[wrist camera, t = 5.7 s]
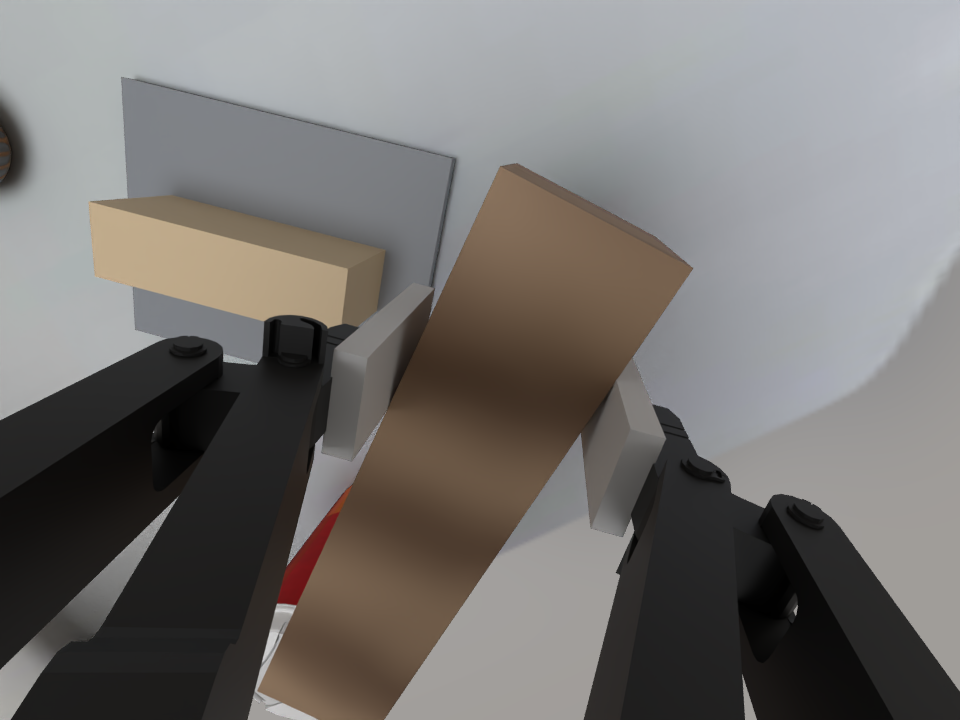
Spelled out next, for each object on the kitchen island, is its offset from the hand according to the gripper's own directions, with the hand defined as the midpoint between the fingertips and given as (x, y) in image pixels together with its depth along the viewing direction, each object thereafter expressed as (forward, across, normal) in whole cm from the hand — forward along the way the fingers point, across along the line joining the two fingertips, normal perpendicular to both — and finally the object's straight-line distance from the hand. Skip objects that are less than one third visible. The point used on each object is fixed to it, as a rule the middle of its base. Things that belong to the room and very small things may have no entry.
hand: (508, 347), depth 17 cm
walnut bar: (+1, +1, +6) cm, 6 cm away
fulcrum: (+15, +16, +3) cm, 22 cm away
